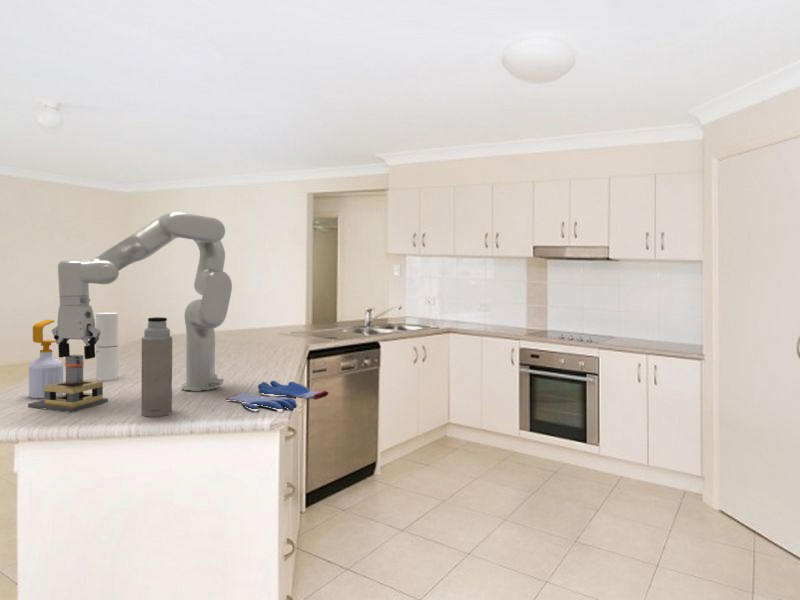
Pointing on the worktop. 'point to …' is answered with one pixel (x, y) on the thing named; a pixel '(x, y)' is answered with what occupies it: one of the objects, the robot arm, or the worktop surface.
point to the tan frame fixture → (71, 396)
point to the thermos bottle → (156, 368)
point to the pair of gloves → (277, 389)
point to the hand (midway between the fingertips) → (77, 357)
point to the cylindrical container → (107, 346)
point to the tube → (74, 371)
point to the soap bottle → (44, 365)
